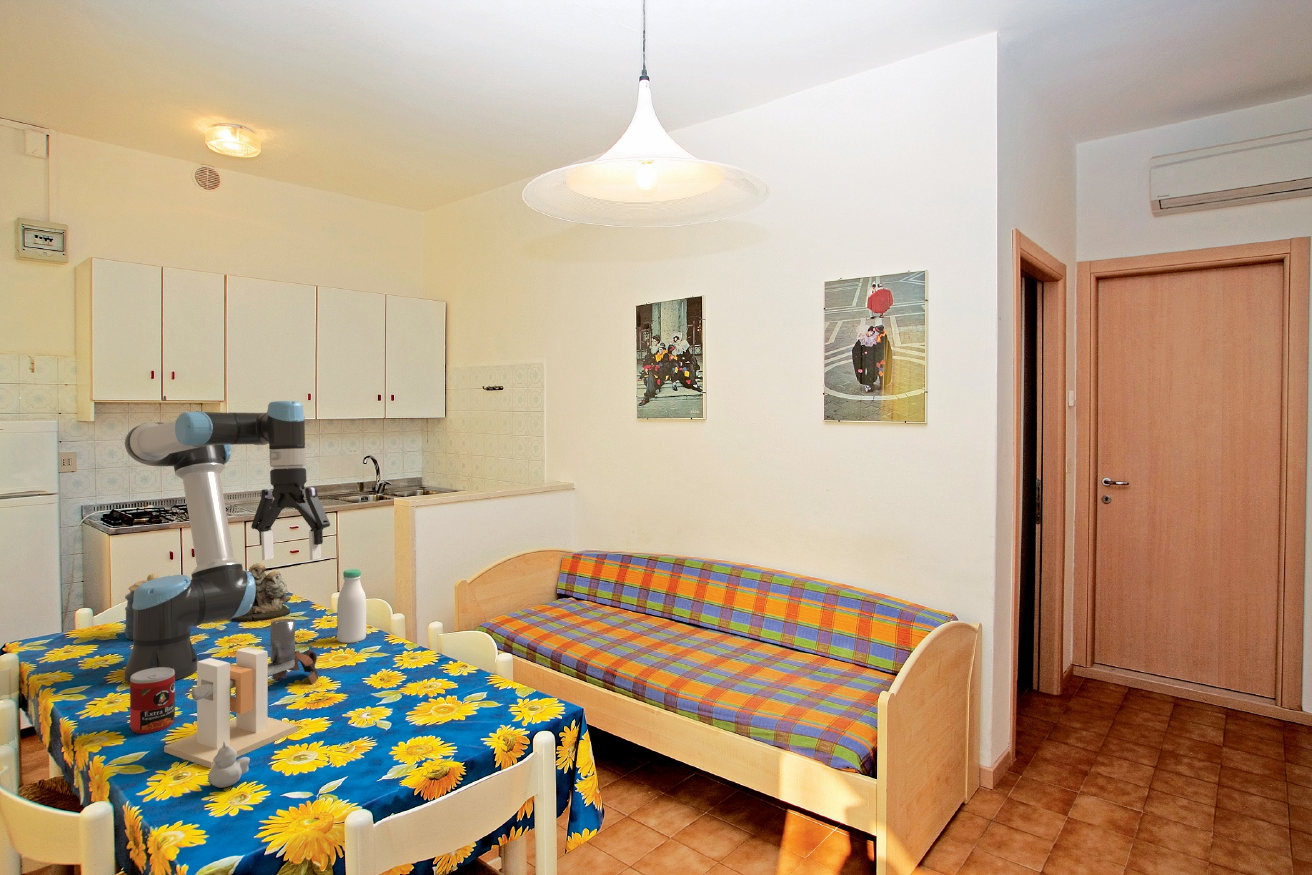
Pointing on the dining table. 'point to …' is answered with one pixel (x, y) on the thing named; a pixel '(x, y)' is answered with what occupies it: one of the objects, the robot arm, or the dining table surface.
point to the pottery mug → (307, 662)
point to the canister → (129, 606)
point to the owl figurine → (266, 596)
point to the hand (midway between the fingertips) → (291, 559)
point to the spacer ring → (242, 689)
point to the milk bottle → (351, 609)
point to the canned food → (152, 699)
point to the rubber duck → (227, 767)
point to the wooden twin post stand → (215, 713)
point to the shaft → (279, 654)
